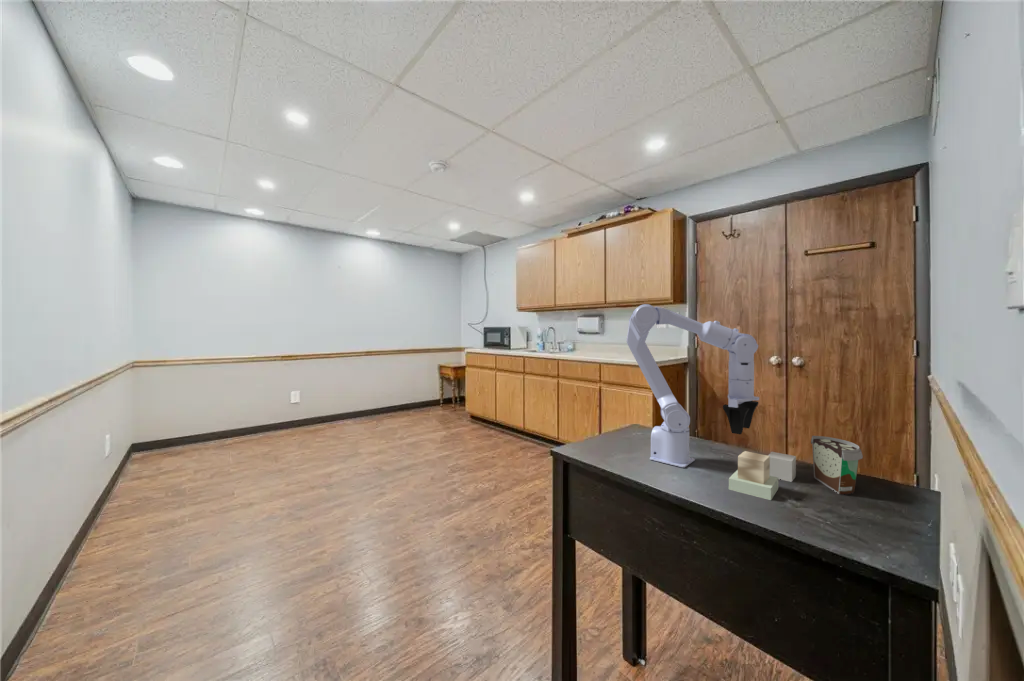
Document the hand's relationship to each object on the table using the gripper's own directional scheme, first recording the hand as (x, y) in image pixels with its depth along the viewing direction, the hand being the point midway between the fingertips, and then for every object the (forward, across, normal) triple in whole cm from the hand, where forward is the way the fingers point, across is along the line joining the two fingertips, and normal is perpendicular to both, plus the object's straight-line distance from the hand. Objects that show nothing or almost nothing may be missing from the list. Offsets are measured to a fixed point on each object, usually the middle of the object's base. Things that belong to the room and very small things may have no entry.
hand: (740, 430), depth 99 cm
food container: (+10, +1, -20) cm, 22 cm away
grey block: (+10, -1, -9) cm, 13 cm away
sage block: (+10, -14, -6) cm, 18 cm away
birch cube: (+7, -14, -6) cm, 17 cm away
